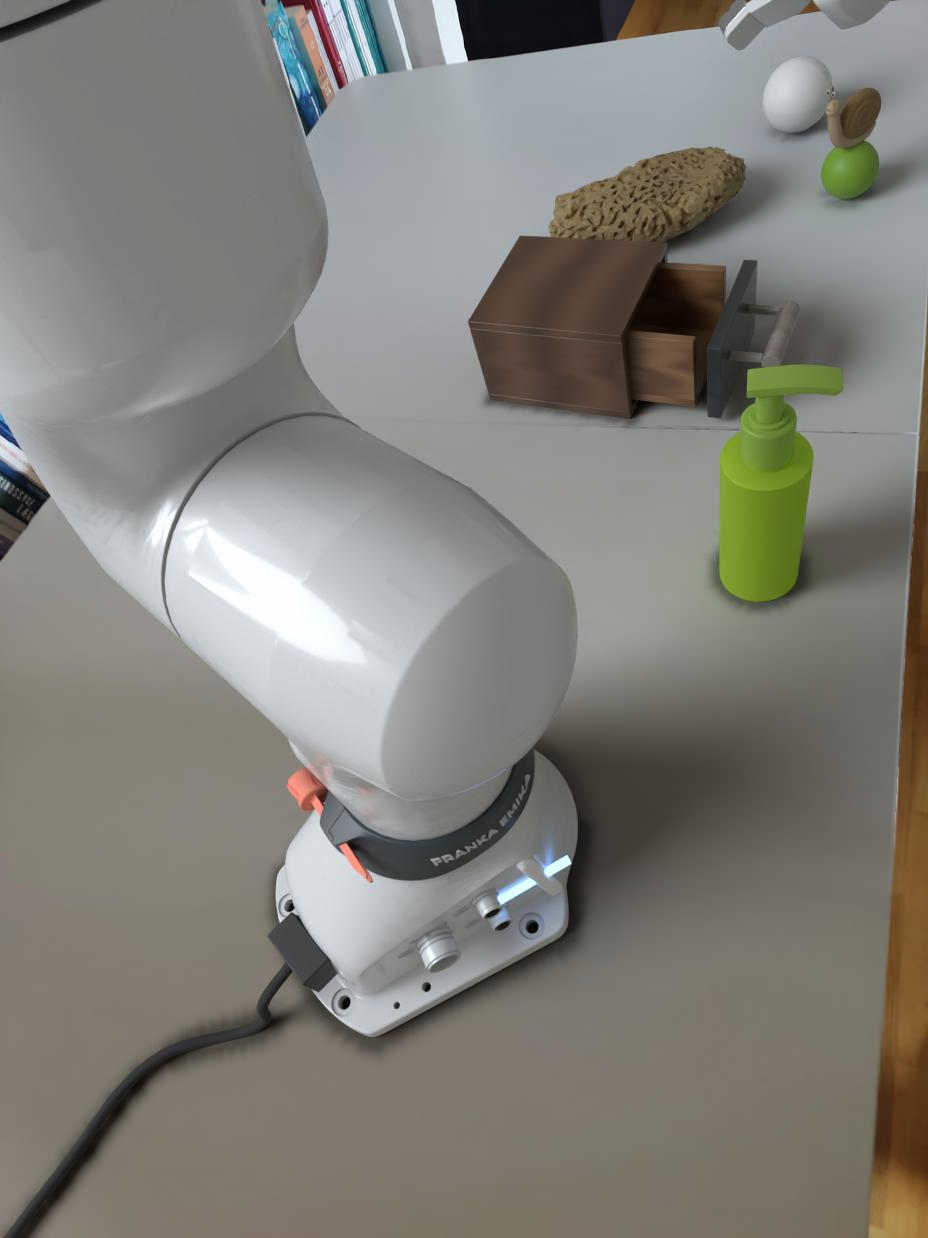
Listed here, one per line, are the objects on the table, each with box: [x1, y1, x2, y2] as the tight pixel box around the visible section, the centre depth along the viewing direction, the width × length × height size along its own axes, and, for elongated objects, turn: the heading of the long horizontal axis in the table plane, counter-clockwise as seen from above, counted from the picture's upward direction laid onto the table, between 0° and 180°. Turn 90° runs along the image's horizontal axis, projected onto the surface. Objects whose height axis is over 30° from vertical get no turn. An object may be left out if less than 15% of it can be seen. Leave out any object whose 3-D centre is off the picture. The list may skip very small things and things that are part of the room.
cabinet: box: [467, 235, 669, 420], centre depth 81 cm, size 15×13×10 cm
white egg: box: [762, 55, 835, 134], centre depth 95 cm, size 10×7×7 cm
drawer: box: [625, 259, 802, 419], centre depth 76 cm, size 18×11×8 cm, turn 65°
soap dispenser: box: [718, 364, 844, 603], centre depth 59 cm, size 6×7×20 cm
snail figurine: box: [820, 87, 882, 200], centre depth 84 cm, size 5×6×12 cm
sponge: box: [548, 146, 747, 242], centre depth 91 cm, size 13×8×20 cm
